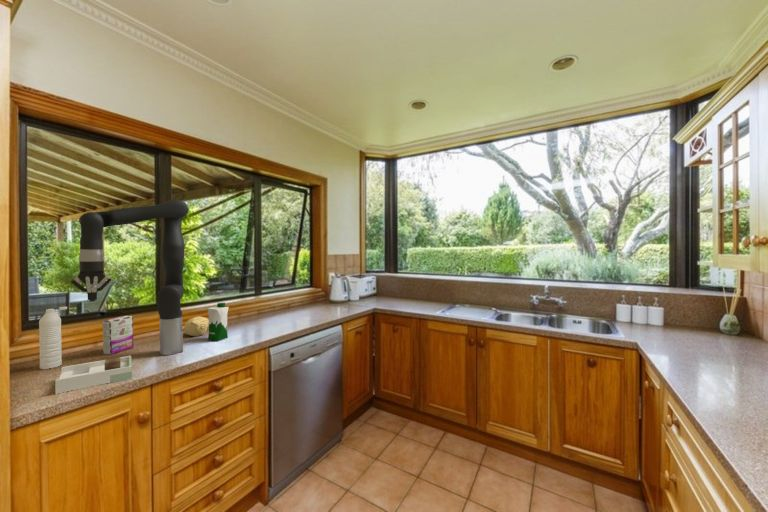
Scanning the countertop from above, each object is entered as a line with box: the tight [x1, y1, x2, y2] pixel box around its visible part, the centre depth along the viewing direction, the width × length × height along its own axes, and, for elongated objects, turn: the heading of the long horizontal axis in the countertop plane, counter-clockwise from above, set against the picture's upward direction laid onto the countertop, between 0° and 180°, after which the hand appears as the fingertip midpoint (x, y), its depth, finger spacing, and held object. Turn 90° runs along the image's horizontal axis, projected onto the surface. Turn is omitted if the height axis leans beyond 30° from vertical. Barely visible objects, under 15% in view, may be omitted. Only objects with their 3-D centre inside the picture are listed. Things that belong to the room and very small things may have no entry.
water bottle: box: [38, 306, 68, 370], centre depth 134 cm, size 9×6×25 cm
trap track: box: [54, 355, 133, 395], centre depth 122 cm, size 21×15×5 cm
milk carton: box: [206, 302, 230, 342], centre depth 176 cm, size 9×9×20 cm
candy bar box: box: [102, 315, 134, 356], centre depth 154 cm, size 11×5×16 cm, turn 168°
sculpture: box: [183, 315, 209, 337], centre depth 183 cm, size 12×12×11 cm
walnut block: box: [104, 357, 120, 371], centre depth 123 cm, size 4×4×4 cm
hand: (92, 301), depth 131 cm, fingers closed
